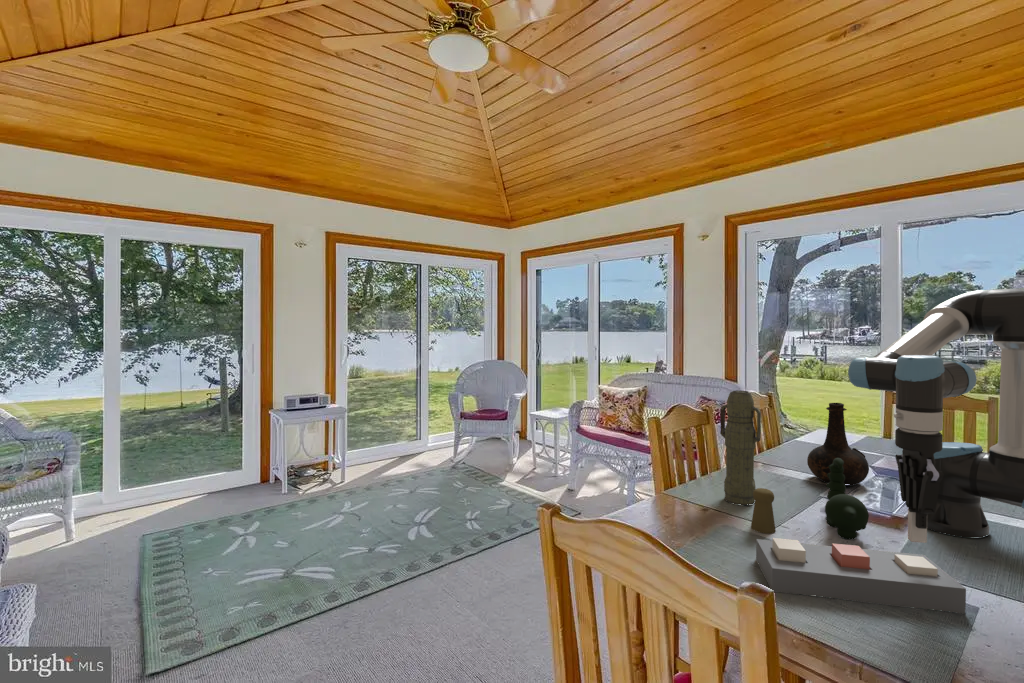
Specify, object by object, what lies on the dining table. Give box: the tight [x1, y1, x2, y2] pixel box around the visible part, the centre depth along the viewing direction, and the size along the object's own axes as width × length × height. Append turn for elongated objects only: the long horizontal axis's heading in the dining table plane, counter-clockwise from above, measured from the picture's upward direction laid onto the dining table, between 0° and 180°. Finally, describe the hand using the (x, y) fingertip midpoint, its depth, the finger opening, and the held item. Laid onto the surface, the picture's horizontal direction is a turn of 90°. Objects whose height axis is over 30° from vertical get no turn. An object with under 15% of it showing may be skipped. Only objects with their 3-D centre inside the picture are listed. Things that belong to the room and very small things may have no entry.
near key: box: [894, 554, 938, 576], centre depth 101 cm, size 5×5×4 cm
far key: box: [772, 537, 806, 563], centre depth 107 cm, size 5×5×4 cm
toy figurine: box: [824, 458, 870, 541], centre depth 131 cm, size 9×19×25 cm
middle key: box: [831, 543, 870, 570], centre depth 104 cm, size 5×5×4 cm
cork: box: [750, 487, 776, 535], centre depth 132 cm, size 6×6×11 cm
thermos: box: [719, 390, 762, 505], centre depth 152 cm, size 9×12×35 cm
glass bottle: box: [807, 402, 870, 486], centre depth 169 cm, size 18×18×28 cm
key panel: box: [755, 538, 967, 615], centre depth 104 cm, size 34×14×5 cm, turn 76°
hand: (917, 540), depth 101 cm, fingers closed
